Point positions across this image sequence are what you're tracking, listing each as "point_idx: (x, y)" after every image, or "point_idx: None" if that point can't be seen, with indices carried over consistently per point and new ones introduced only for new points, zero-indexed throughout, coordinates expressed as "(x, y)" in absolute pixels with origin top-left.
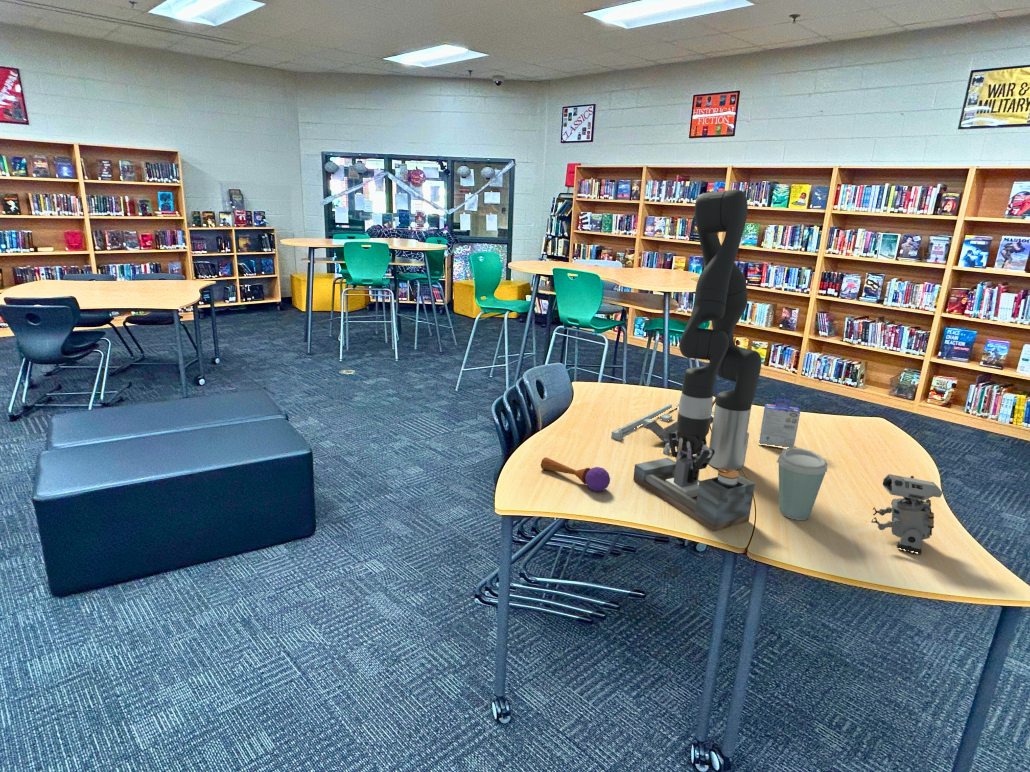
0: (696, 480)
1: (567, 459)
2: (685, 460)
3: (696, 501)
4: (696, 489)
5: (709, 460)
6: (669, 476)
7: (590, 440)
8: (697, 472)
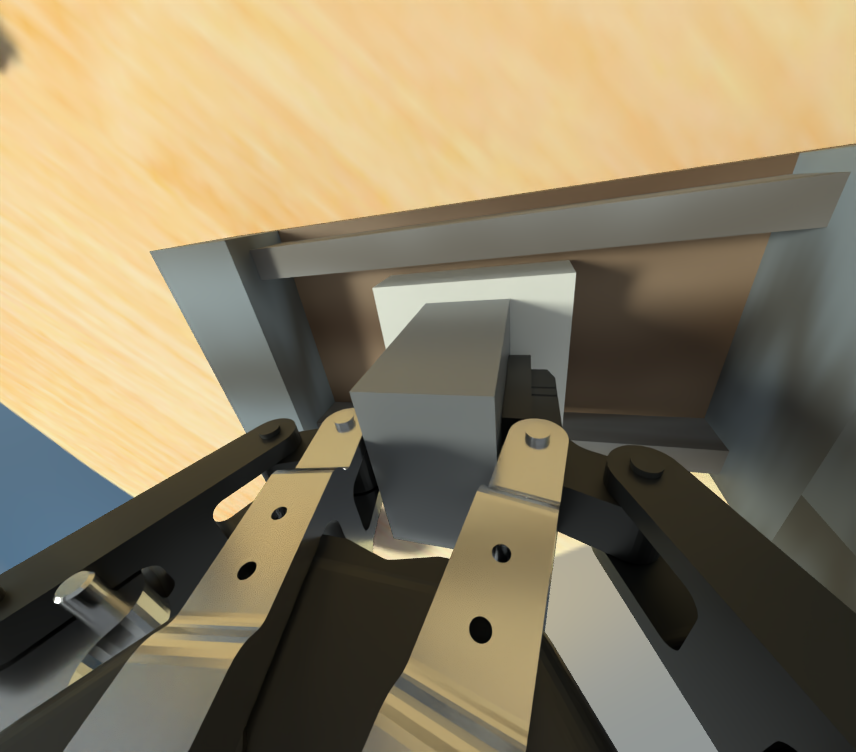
0: (550, 374)
1: (178, 468)
2: (426, 503)
3: (684, 453)
4: (568, 355)
5: (853, 635)
6: (306, 293)
7: (15, 338)
8: (560, 422)
